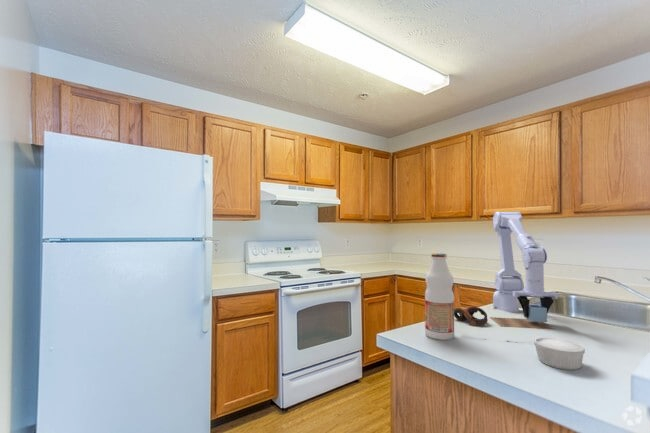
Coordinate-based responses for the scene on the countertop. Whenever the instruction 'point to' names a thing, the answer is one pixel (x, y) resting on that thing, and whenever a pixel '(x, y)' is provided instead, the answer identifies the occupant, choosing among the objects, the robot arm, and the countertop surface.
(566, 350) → the ramekin
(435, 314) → the fruit juice
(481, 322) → the brown curled shape
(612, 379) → the countertop surface
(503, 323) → the stub board
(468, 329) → the countertop surface
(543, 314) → the collar
